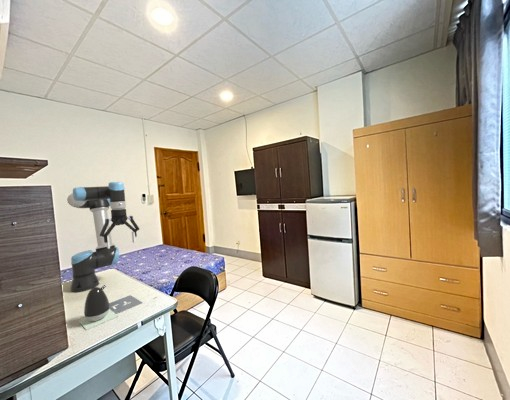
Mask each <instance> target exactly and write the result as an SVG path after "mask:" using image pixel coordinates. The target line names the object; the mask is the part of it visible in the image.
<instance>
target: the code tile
mask: <svg viewBox="0 0 510 400" xmlns="http://www.w3.org/2000/svg"><path fill="white" fill-rule="evenodd" d="M141 304H143V301H141V300H139V299H137V298H136V297H134V296H133V295H130V294H129V295H127V296H125V297H122V298H119V299H116V300H113V301H112V302H109V305H110V308H109V309H110V310H111V311H113V312H114V313H115V314H116V315H118V314H120V313H123V312H125V311H127V310H129V309H131V308H133V307H136V306H139V305H141Z"/></svg>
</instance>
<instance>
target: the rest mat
mask: <svg viewBox="0 0 510 400" xmlns="http://www.w3.org/2000/svg"><path fill="white" fill-rule="evenodd" d="M118 317H119V316H118V314H115V313H114V312H113V311H111V310H110V309H109V311H108V313H107V315H106V316H105V317H104V318H102V319H100V320H98V321H90V320H88V319H87V318H86V316H85V317H82V318H80V319H78V320H77V321H78V322H79V324H81V326H82V327H83V328H84V329H85V330H86V331H88V330H90V329H92V328H95V327H98V326H99V325H103V324H105V323H106V322H109V321H111V320H113V319H115V318H118Z"/></svg>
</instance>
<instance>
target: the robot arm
mask: <svg viewBox="0 0 510 400" xmlns="http://www.w3.org/2000/svg"><path fill="white" fill-rule="evenodd" d="M124 185H125V184H124V183H123V181H112V182H111V181H110V182H108V186H84V187H83V186H79V187H77V186H76V187H73V188H72V193H71V194H69V195H68V197H67V199H66V200H67V203H68V205H70V207H73V208H76V209H89V211H90V212H91V213H92V215H93V223H94V230H95V237H96V243H97V246H96V248H95V251H93V249H91V250H83V251H81V252H78V253H75V254H73V255H72V256H71V259H70V260H71V261H70V263H71V270H72V271H71V272H72V281H71V285H70V292H71V293H80V292H87V291H88V290H89V291H90V290H91V289H93V288H95V287H99V285H100V280H99V278H98V276H97V274H96V273H95V270H97V269H102V268H104V267H111V266H113V265H116V264H118V262H119V259H120V250H119V248H118V247H117V246H116V244H114V243H113V241H112V240H113V239H112V236H111V234H112V233H111V232H112V230H114V228H115V227H116V226H122V225H123V226H124V225H125V226H126V227H128V228H129V229H130V230H131V240H132V241H131V242H132V243H133V244H136V241H137V240H136V238H137V237H138V235H137V232H138V231H140V227H139V226H138V224H137V223H136V222H135V219H134V216H133V215H129V216H127V209H126V208H127V207H126V196H125V195H126V194H125V186H124ZM109 209H111V210H110V215H111V218H109V215H108V210H109ZM127 220H128V221H130V222H131V224H132V225H131V224H130V223H129V222H128V221H127ZM111 222H112V223H111ZM110 223H111V224H110Z"/></svg>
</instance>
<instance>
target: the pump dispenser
mask: <svg viewBox="0 0 510 400" xmlns="http://www.w3.org/2000/svg"><path fill="white" fill-rule="evenodd" d="M106 287H107V285H106V284H104V285H103V286H102V287H99V286H96V287H94V288H92V289H89V291H88V293H87V294H86V299H85V302H84V308H83V309H84V310H83V311H84V313H83V315H84V316H85V317H86V318H87V319H88V320H90V321H98V320H100V319H102V318H104V317H105V316H106V315H107V313H108V311H109V308H110V305H109V303H110V302H109V299H108V296H107V294H106V292H105V291H104V289H105V288H106Z"/></svg>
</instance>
